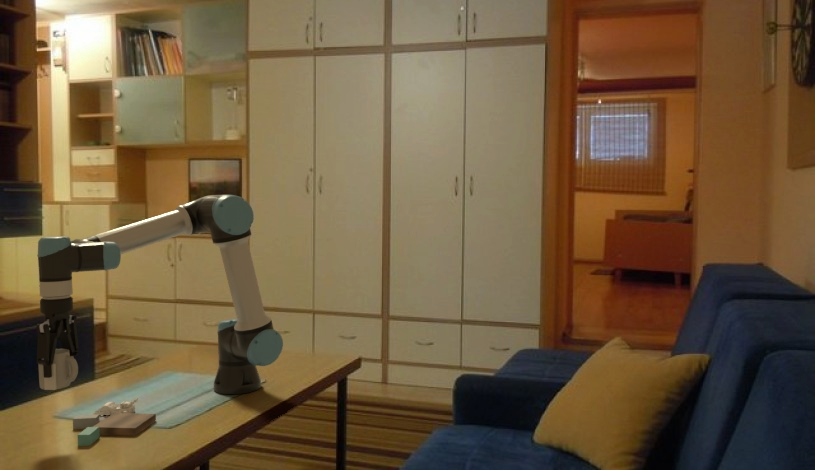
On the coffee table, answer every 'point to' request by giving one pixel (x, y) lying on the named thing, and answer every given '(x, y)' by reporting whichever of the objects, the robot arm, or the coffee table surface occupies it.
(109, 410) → the toy car
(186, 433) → the coffee table surface
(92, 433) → the teal brick
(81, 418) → the grey brick
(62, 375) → the cup
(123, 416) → the walnut block
